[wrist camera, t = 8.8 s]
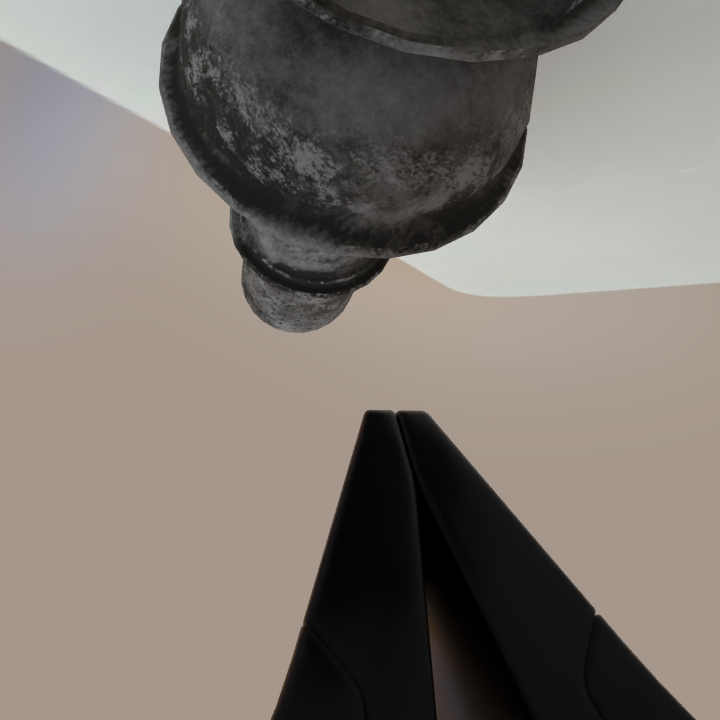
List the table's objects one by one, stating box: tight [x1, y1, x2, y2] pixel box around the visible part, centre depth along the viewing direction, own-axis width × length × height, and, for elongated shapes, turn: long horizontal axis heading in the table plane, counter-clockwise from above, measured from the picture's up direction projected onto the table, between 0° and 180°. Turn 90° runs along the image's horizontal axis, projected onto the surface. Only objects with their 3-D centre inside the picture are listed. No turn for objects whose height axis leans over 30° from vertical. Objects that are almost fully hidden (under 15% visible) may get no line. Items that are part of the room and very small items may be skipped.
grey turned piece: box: [159, 0, 623, 333], centre depth 12 cm, size 6×6×12 cm
